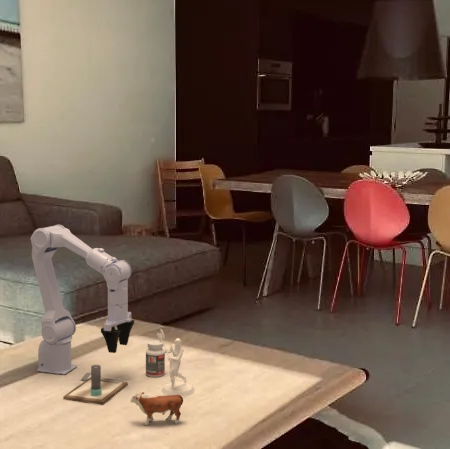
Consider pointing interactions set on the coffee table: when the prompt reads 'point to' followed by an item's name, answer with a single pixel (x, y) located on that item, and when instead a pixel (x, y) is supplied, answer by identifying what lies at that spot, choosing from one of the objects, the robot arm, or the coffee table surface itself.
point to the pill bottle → (155, 359)
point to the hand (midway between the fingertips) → (118, 348)
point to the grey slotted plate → (86, 376)
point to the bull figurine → (158, 405)
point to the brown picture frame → (84, 395)
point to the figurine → (175, 370)
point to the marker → (96, 380)
